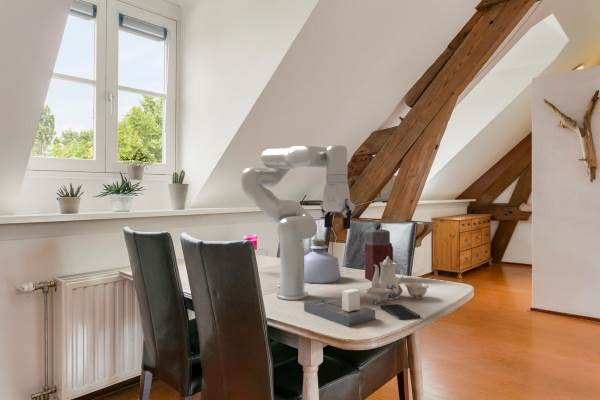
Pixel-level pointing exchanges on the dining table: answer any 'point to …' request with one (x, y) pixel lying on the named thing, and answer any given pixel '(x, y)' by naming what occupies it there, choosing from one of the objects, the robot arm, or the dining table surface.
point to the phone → (400, 312)
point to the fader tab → (350, 300)
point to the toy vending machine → (376, 248)
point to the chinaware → (391, 284)
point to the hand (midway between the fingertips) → (337, 228)
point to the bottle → (320, 265)
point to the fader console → (338, 312)
